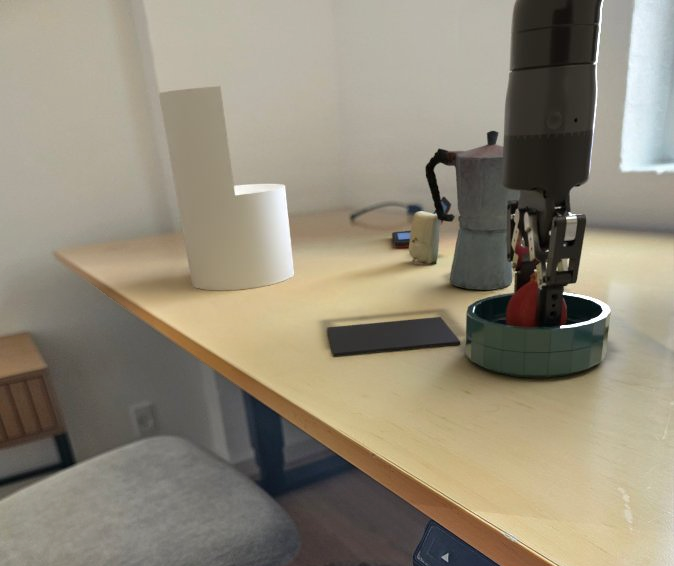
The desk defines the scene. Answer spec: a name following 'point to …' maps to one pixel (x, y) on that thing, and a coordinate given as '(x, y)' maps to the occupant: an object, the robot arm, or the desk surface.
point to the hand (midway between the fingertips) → (535, 316)
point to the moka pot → (477, 215)
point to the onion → (527, 306)
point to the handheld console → (403, 237)
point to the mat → (390, 336)
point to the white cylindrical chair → (222, 200)
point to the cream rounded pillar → (424, 238)
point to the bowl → (537, 339)
